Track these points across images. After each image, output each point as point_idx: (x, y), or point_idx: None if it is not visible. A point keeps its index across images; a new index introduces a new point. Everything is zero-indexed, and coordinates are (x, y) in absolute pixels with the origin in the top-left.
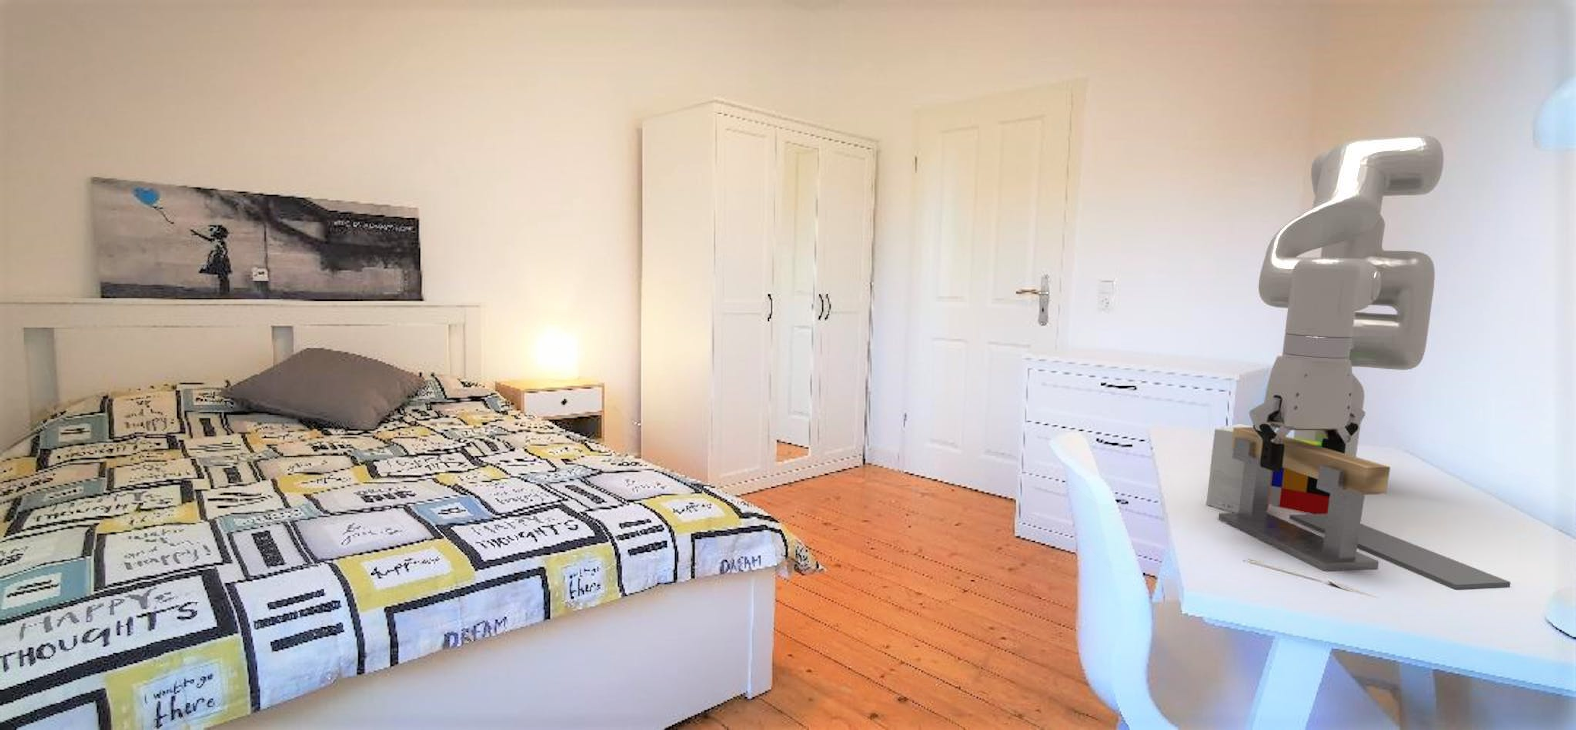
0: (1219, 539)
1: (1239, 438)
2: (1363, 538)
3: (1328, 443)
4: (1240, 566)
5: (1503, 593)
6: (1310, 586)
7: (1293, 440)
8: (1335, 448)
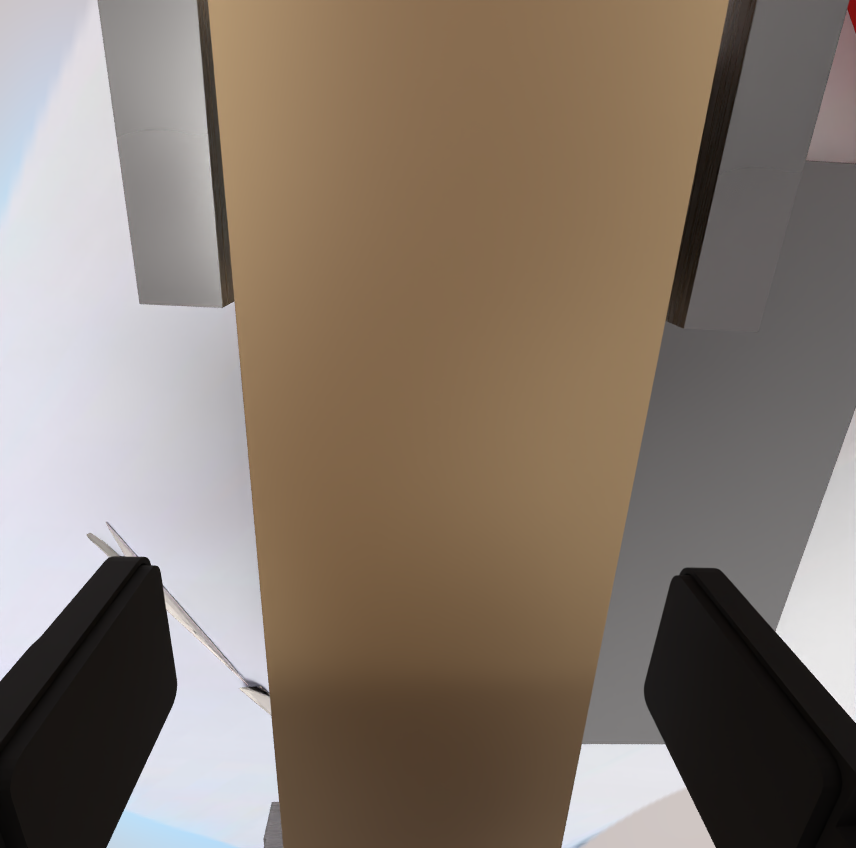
0: (130, 350)
1: (127, 17)
2: (697, 458)
3: (785, 808)
4: (55, 566)
5: (663, 753)
6: (183, 687)
7: (523, 658)
8: (741, 834)
